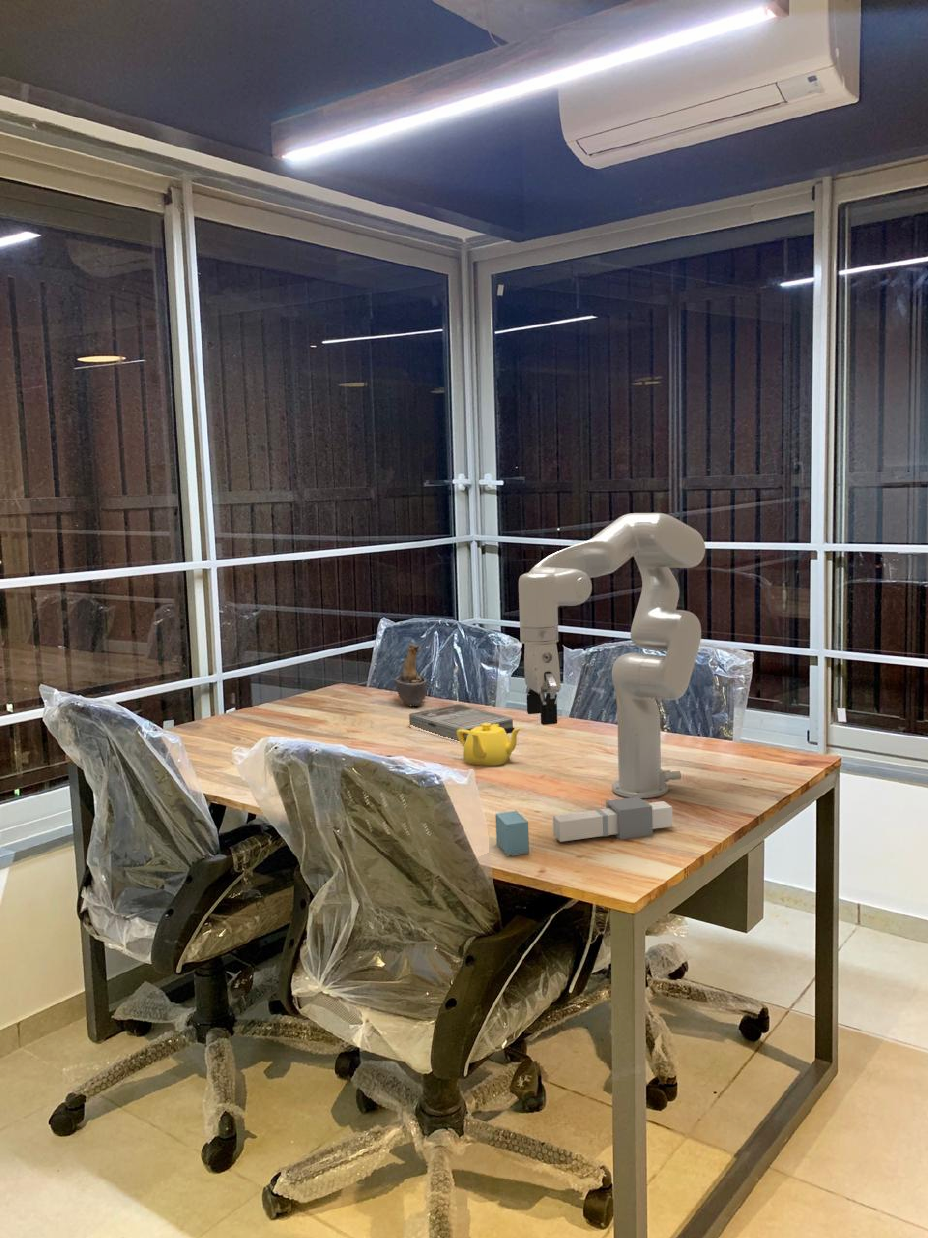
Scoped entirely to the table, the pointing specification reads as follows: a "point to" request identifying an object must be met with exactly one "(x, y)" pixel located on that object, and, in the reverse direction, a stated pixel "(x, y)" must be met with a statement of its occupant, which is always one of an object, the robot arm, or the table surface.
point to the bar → (602, 822)
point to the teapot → (487, 744)
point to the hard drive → (457, 720)
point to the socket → (512, 833)
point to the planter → (411, 680)
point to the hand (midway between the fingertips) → (541, 718)
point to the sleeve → (632, 817)
